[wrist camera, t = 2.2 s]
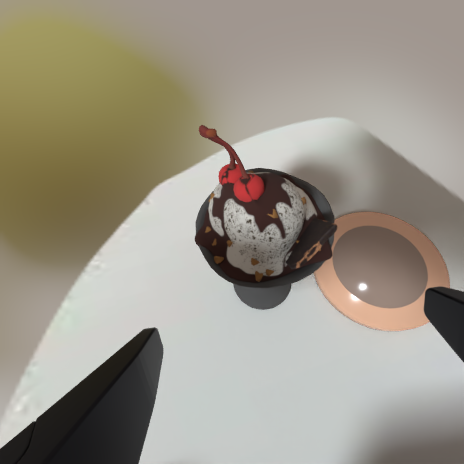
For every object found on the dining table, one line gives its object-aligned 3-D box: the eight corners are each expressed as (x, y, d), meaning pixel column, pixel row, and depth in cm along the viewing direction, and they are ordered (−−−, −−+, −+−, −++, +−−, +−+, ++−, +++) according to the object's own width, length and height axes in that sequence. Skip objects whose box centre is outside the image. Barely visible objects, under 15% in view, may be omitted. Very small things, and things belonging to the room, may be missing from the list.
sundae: (217, 253, 22) (151, 97, 9) (287, 238, 22) (329, 58, 9) (229, 328, 19) (157, 261, 6) (312, 310, 19) (437, 200, 6)
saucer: (469, 323, 17) (479, 322, 16) (330, 337, 18) (333, 337, 17) (408, 209, 22) (414, 204, 21) (300, 223, 22) (302, 218, 22)
